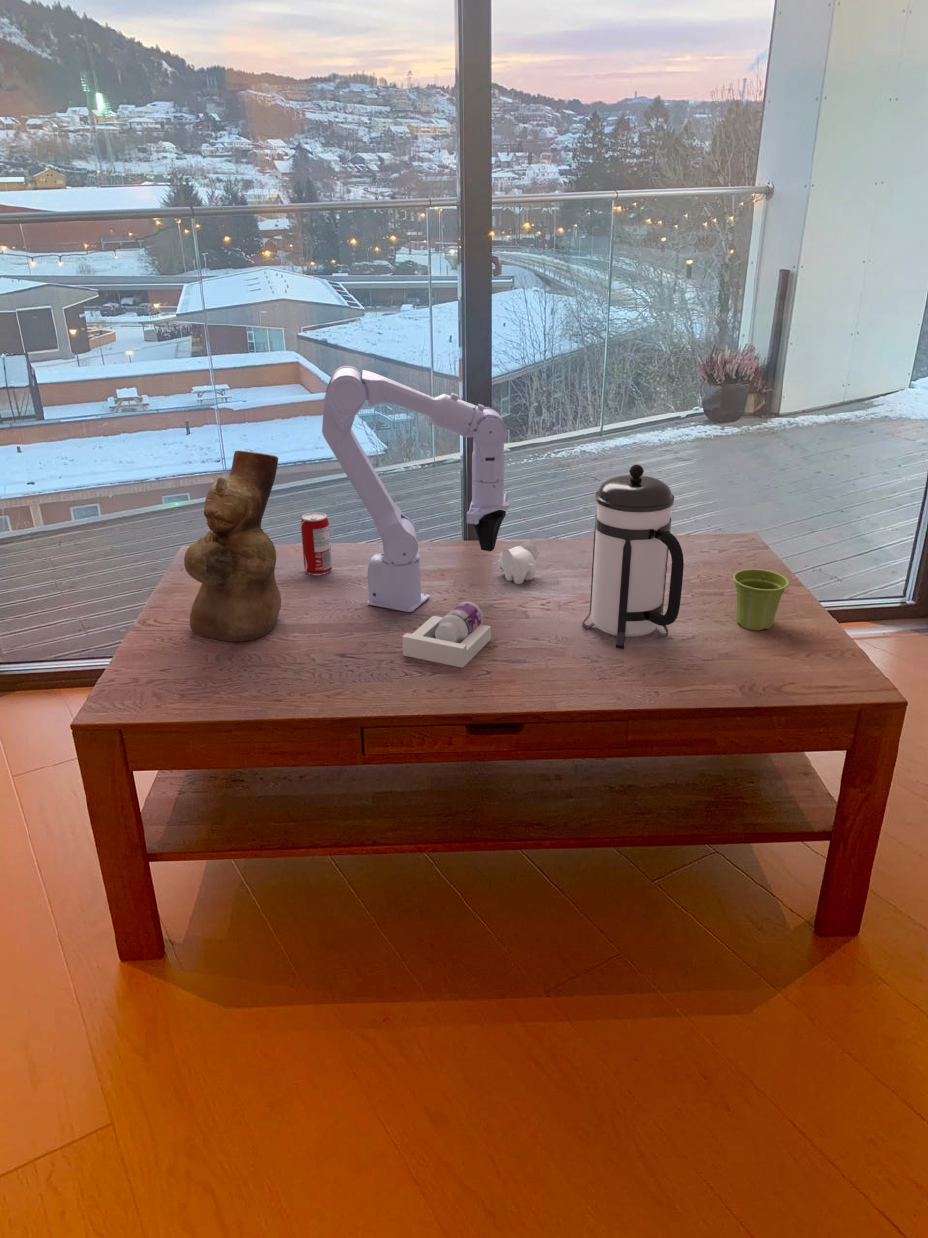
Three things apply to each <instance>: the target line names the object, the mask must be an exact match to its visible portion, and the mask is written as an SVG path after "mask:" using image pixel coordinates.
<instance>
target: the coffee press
mask: <svg viewBox="0 0 928 1238" xmlns="http://www.w3.org/2000/svg"><path fill="white" fill-rule="evenodd" d="M644 471H645V470H644V467H642V466H641V464H633V465H631V467H630V469H629V470H628V472H629V474H627V475H618V476H614V477H611V478H609V479H607V480H605V481H604V482H602V484H601V485H600V486H599V489H598V490H597V491H596V492H595V495H594V498H595V502H596V504H597V505H596V506H597V508H596V513H595V516H594V533H593V549H592V564H591V565H592V567H591V569H592V570H591V584H590V599H589V600H590V602H589V613H588V615H587V616H586V617H585V618H584V619H583V621H582V628H583V629H585V630H588V629H589V630H590V628H592V627H593V626H595V627H596V628H598V629H599V630H600V631H602V632H603V633H606V634H610V635H613V636H616V641H615V649H621V650H624V649H625V646H626V645H625V642H626V638H627V637H628V638H629V637H632V638H633V637H642V636H644V635H648V634H650V633H652V632H655V633H656V634H657V635H658V636H659V637H661V638H667V637H668V634H669V628H668V626H669V625H671V624H673V623H674V622H676V620H677V619H678V616H679V612H680V608H681V599H682V589H683V580H684V579H683V578H684V568H685V567H684V564H685V563H684V562H685V561H684V554H683V553H684V552H683V549H682V546H681V544H680V542H679V540H678V539H677V537H676V536H675V535H674V534H672V533H671V528H672V517H671V513H672V512H671V511H672V507H673V505H674V503H675V496H674V494H673V493H672V491H671V488H670V487H669V485H668V484H667V483H665V482H664V481H662V480H660V479H658V478H655V477H651V476H647V475H643V474H644V473H645V472H644ZM669 554H670V558H671V569H670V579H669V580H670V583H669V592H668V601H667V602H668V603H667V609H666V612H665V613H664V604H665V593H666V583H667V581H666V580H667V571H668V561H669ZM590 616H591V621H592V623H591V624H589V625H587V624H586V623H585V622H586V621H587V620H588V619H589V617H590ZM660 626H661V627H663V630H664V631H666V632H665V633H662V632H661V631H660V630H659V629H658V627H660Z"/></svg>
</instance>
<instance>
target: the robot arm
mask: <svg viewBox="0 0 928 1238" xmlns="http://www.w3.org/2000/svg"><path fill="white" fill-rule="evenodd" d="M366 401H367V402H368V407H373V406H375V405H376V406H377V405H379V404H382V403H388V404H392V405H394V406H396V407H397V406H398V407H401V408H404V409H406V410H410V411H414V412H416V413H419V414H422V415H425V416H428V417H429V419H430V422H431V424H432V425H433V426H434V427H438V428H440V429H442V430H445V431H446V432H447V431H448V432H450V433H452V434H456V435H459V436H461V437H464V438H473V444H472V445H473V446H472V447H473V449H472V450H473V451H472V454H471V474H472V475H471V502H470V505H469V510H468V511H466V524H471V525H473V527H474V529H475V531H476V536H477V539H478V543H479V547H480V550H481V551H486V552H493V551H494V549H495V548H496V543H497V539H498V534H499V531H500V528H501V525H502V523H503V521H504V519H505V518H506V515H507V511H506V510H507V509H509V508H510V507H511V506H510V505H511V504H510V503H509V502H508V500H509V492H508V491H505V488H504V487H505V485H504V484H505V452H504V448H505V443H504V442H505V441H506V439H507V436H508V430H507V426H506V423H505V421H504V420H503V418H502V417H501V415H500V413H498V412H497V411H496V410H494V409H492V407H490V406H484V405H483V404H482V403H481V404H480V403H478V404H477V405H475V404H474V403H470V402H468V401H465V400H462V399H460V396H459V395H458V393H454V392H451V394H450V395H449V394H447V393H443V394H440V395H437V396H435V397H434V396H431V395H428V394H427V393H423V392H421V391H418V390H417V389H415V388H413V387H409V386H407V385H405V384H402V383H400V382H399V381H396V380H393V379H391V378H389V377H386V376H384V375H381V374H378V373H375V372H372V371H370V370H364V369H362V371H361V370H360V369H358V368H357V367H355V366H352V365H343V366H340V367H338V368H337V369H336V370H335V371H334V372H333V373H332V375H331V377H330V379H329V381H328V384H327V386H326V389H325V394H324V399H323V409H322V411H323V412H322V427H321V433H322V436H323V438H324V439H325V441H326V443H327V445H328V446H329V449H330V450H331V451H332V453H333V455H334V456H335V458H336V460H337V462H338V463H339V466H341V468H342V469H343V471H344V473H345V474H346V477H347V478H348V480H349V481H350V482H349V483H351V485H352V486H353V488H354V490H355V492H356V494H357V495H358V497H359V498H360V500H361V502H362V504H363V505H364V506H365V508H366V510H367V512H368V513H369V515H370V517H371V519H372V520H373V523H374V525H375V528H376V531H377V533H378V536H379V537H380V539H381V542H382V549H383V552H381V553H375V554H374V555H372V557H371V559H369V560H370V561H369V562H368V565H367V585H368V587H367V588H368V589H367V590H368V601H367V602H366V604H367V605H369V606H374V607H375V606H376V607H379V608H385V609H390V610H396V611H401V612H405V613H406V612H407V613H412V612H414V611H415V610H416V609H417V608H419V607H420V606H421V605H423V604H424V603H425V602H426V601H427V600H429V598H430V597H431V595H430V594H427V593H422V584H421V583H422V582H421V576H422V575H421V553H420V552H419V542H418V539H417V527H416V524H415V522H413V520H412V519H410V518H409V517H407V516H406V515H405V514H403V511H402V510H401V509H400V507H399V506H398V505H397V504H396V503H395V502H394V500H393V499H392V497H391V495H390V494H389V492H388V490H387V488H386V486H385V484H384V483H383V481H382V479H381V478H380V476H379V475H378V473H377V471H376V469H375V467H374V465H373V464H372V462H371V461H370V459H369V457H368V456H367V454H366V451H365V450H364V448H363V446H362V445H361V443H360V442H359V440H358V438H357V437H356V435H355V432H354V431H353V430H352V428H353V424H354V421H355V416H357V414H358V413H359V412H360V410H361V409H362V408H363V407H364V404H365V403H366Z"/></svg>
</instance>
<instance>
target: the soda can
mask: <svg viewBox="0 0 928 1238" xmlns="http://www.w3.org/2000/svg"><path fill="white" fill-rule="evenodd" d="M328 519H329V518H328V515H327V514H326V513H324V512H318V511H316V512H315V511H314V512H313V511H312V512H308V513H304V514H303V515H302V516H301V520H300V521H301V522H300V531H301V532H300V533H301V541H302V554H303V568H304V571H305V572H306V573H307V574H308V573H310V574H317V575H316V576H319V575H318V574H324V573H327V572H329V571H330V572H331V571H332V568H333V562H332V561H333V560H332V550H331V533H330V522H329V520H328ZM330 572H329V573H330ZM310 574H309V575H310ZM327 574H328V573H327ZM324 575H325V574H324Z"/></svg>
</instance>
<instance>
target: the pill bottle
mask: <svg viewBox="0 0 928 1238" xmlns="http://www.w3.org/2000/svg"><path fill="white" fill-rule="evenodd" d="M483 621H484V614H483V612H482V609H481V608H480V607H479V606H478V605H477V604H476V603H474V602H471V601H463V602H460V603H459V604H458V605H456V606H455V607H454V608H453V609H452V610H450V611H449V612H448V613H447V614H445V616H443V618H442V619H441V621H440V623H439V627H438V628H437V629H436V631H435V637H436V639H440V640H445V641H450V642H455V643H461V642H462V641H463V640H464V639H465V638H467V637H468V636H469V635H470V634H471V633H472V632H473V631H474V630H475V629H476V628H477V627H478V626H479V625H480V624H481V625H483V624H482V623H483Z"/></svg>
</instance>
